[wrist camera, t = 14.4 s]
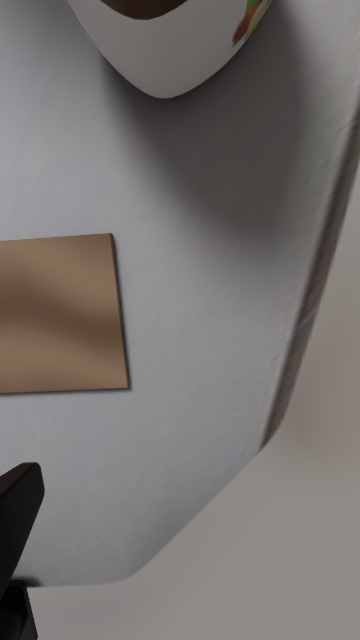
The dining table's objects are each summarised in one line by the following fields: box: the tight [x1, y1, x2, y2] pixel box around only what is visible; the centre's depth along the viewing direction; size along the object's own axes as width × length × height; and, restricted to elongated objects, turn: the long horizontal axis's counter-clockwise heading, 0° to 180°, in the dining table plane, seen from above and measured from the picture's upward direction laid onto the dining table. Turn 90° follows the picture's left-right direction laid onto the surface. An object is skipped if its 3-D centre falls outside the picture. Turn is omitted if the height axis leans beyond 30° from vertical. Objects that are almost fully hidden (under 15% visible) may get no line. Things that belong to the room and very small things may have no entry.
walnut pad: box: [0, 233, 129, 393], centre depth 19 cm, size 10×10×1 cm
